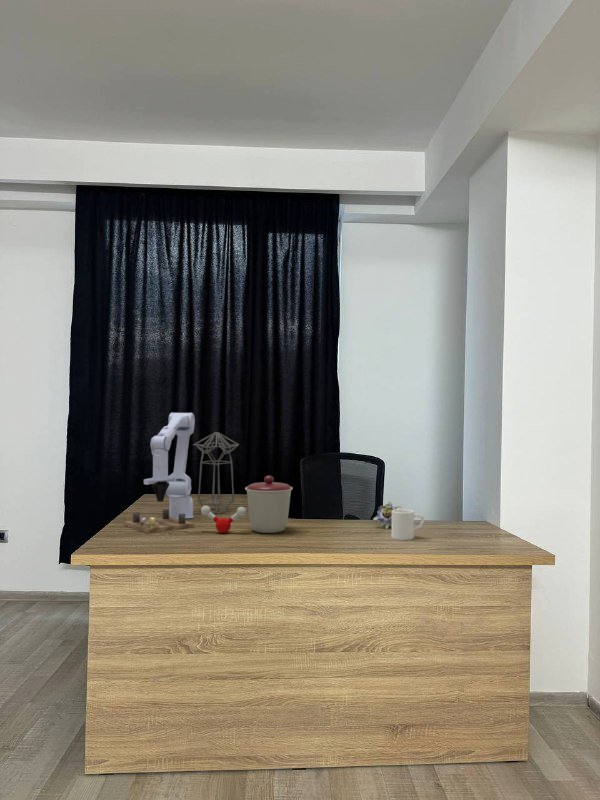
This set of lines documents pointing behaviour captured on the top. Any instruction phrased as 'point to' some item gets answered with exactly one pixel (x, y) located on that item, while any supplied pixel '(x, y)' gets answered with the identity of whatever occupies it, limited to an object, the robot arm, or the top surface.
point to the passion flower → (385, 515)
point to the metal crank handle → (151, 520)
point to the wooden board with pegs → (159, 523)
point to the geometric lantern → (219, 436)
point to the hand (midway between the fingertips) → (160, 501)
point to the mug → (404, 524)
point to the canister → (268, 505)
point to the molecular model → (223, 523)
